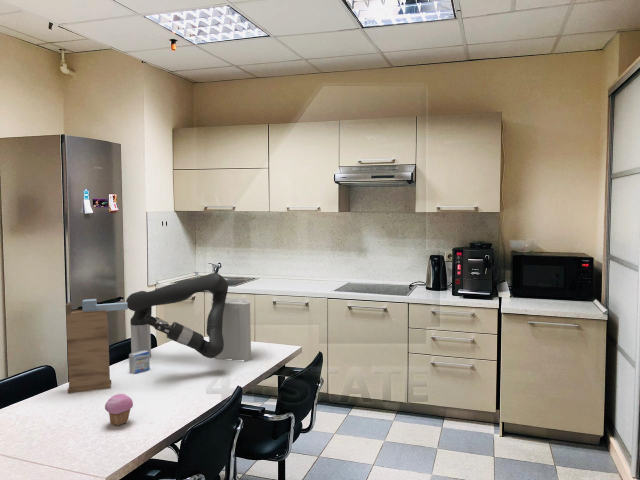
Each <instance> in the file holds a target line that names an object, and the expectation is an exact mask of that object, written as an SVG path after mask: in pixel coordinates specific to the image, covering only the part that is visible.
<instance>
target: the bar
mask: <svg viewBox="0 0 640 480" xmlns="http://www.w3.org/2000/svg"><path fill="white" fill-rule="evenodd" d="M97 300H98V299H97V298H89V299H83V300H82V301H81V304H82V309H81V310H83V312H90V311H104V310H106V311H107V312H111V311H125V310H128V309H129V308H128V305H127V302H126V301H125V302H115V303H102V304H100V303H99V304H98V303H97Z"/></svg>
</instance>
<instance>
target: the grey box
mask: <svg viewBox="0 0 640 480" xmlns="http://www.w3.org/2000/svg"><path fill="white" fill-rule="evenodd" d="M212 305H213V301H211V306H212ZM251 330H252V329H251V302H250V301H249V300H247V299H246V298H245V297H243V298H242V297H238V298H237V297H236V298H230V299H226V300H225V305H224V311H223V324H222V335H223V341H224V348H223V351H222V352H221V353H220V354H219V355H217V356H216V357H214V358H215V360H224V359H232V360H231V361H235V360H244V361H243V362H249V361H250V360H252V343H251V342H252V341H251V340H252V338H251V337H252V335H251ZM249 359H250V360H249ZM248 360H249V361H248Z"/></svg>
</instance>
